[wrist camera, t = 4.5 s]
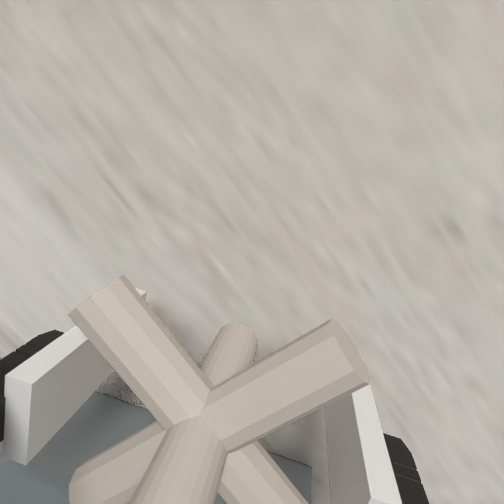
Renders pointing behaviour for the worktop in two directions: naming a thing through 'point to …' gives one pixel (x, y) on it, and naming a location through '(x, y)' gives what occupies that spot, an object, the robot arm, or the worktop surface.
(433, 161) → the worktop surface
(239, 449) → the pipe connector
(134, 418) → the bin
